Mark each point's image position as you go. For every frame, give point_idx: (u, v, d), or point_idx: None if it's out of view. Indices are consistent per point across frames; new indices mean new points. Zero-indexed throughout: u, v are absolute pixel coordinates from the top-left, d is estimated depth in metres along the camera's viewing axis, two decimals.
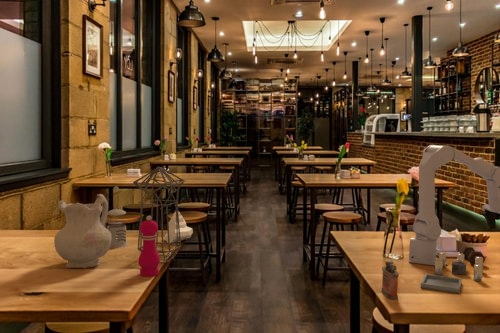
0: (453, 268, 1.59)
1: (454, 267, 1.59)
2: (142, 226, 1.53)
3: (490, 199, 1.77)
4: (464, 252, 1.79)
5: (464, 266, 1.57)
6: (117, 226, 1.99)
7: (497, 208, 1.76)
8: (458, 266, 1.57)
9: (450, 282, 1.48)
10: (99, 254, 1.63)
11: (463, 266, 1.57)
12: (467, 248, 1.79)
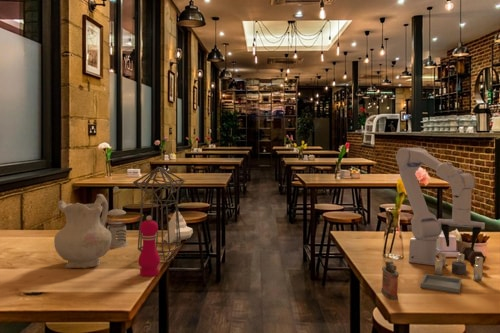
0: (453, 268, 1.59)
1: (454, 267, 1.59)
2: (142, 226, 1.53)
3: None
4: (464, 252, 1.79)
5: (464, 266, 1.57)
6: (117, 226, 1.99)
7: None
8: (458, 266, 1.57)
9: (450, 282, 1.48)
10: (99, 254, 1.63)
11: (463, 266, 1.57)
12: (467, 248, 1.79)
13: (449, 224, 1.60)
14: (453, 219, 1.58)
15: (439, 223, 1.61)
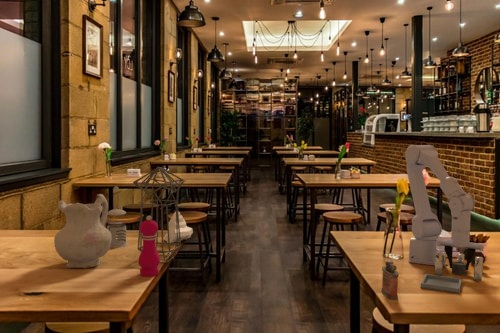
0: (453, 268, 1.59)
1: (454, 267, 1.59)
2: (142, 226, 1.53)
3: None
4: (464, 252, 1.79)
5: (464, 266, 1.57)
6: (117, 226, 1.99)
7: None
8: (458, 266, 1.57)
9: (450, 282, 1.48)
10: (99, 254, 1.63)
11: (463, 266, 1.57)
12: None
13: (448, 245, 1.60)
14: (452, 240, 1.58)
15: (438, 244, 1.61)
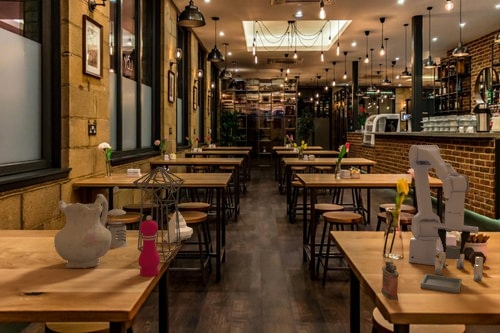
0: (447, 252, 1.53)
1: (448, 251, 1.52)
2: (142, 226, 1.53)
3: None
4: (464, 252, 1.79)
5: (458, 249, 1.51)
6: (117, 226, 1.99)
7: None
8: (452, 250, 1.51)
9: (450, 282, 1.48)
10: (99, 254, 1.63)
11: (457, 249, 1.51)
12: (467, 248, 1.79)
13: (442, 228, 1.54)
14: (446, 223, 1.52)
15: (431, 227, 1.55)
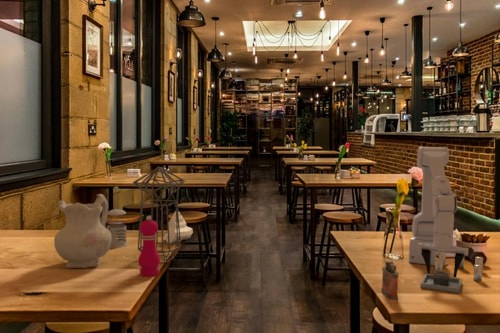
0: (435, 278, 1.46)
1: (436, 277, 1.45)
2: (142, 226, 1.53)
3: None
4: None
5: (447, 276, 1.44)
6: (117, 226, 1.99)
7: None
8: (440, 276, 1.44)
9: (450, 282, 1.48)
10: (99, 254, 1.63)
11: (446, 276, 1.44)
12: None
13: (430, 249, 1.47)
14: (434, 244, 1.45)
15: (419, 248, 1.48)
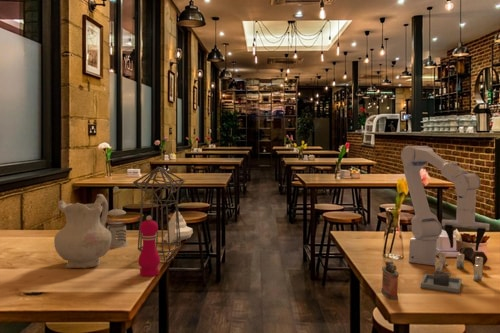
0: (435, 278, 1.46)
1: (436, 277, 1.45)
2: (142, 226, 1.53)
3: None
4: (463, 252, 1.79)
5: (447, 276, 1.44)
6: (117, 226, 1.99)
7: None
8: (440, 276, 1.44)
9: (450, 282, 1.48)
10: (99, 254, 1.63)
11: (446, 276, 1.44)
12: (466, 248, 1.79)
13: (453, 225, 1.58)
14: (457, 220, 1.56)
15: (443, 224, 1.58)
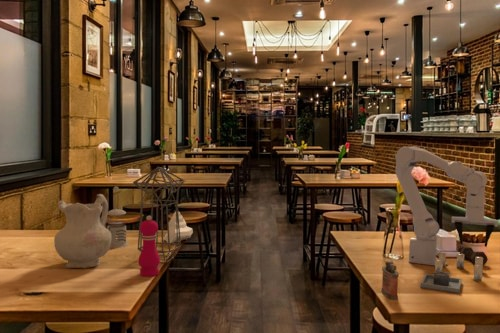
0: (435, 278, 1.46)
1: (436, 277, 1.45)
2: (142, 226, 1.53)
3: None
4: (463, 252, 1.78)
5: (447, 276, 1.44)
6: (117, 226, 1.99)
7: None
8: (440, 276, 1.44)
9: (450, 282, 1.48)
10: (99, 254, 1.63)
11: (446, 276, 1.44)
12: (466, 248, 1.79)
13: (463, 222, 1.62)
14: (467, 217, 1.60)
15: (453, 221, 1.63)
